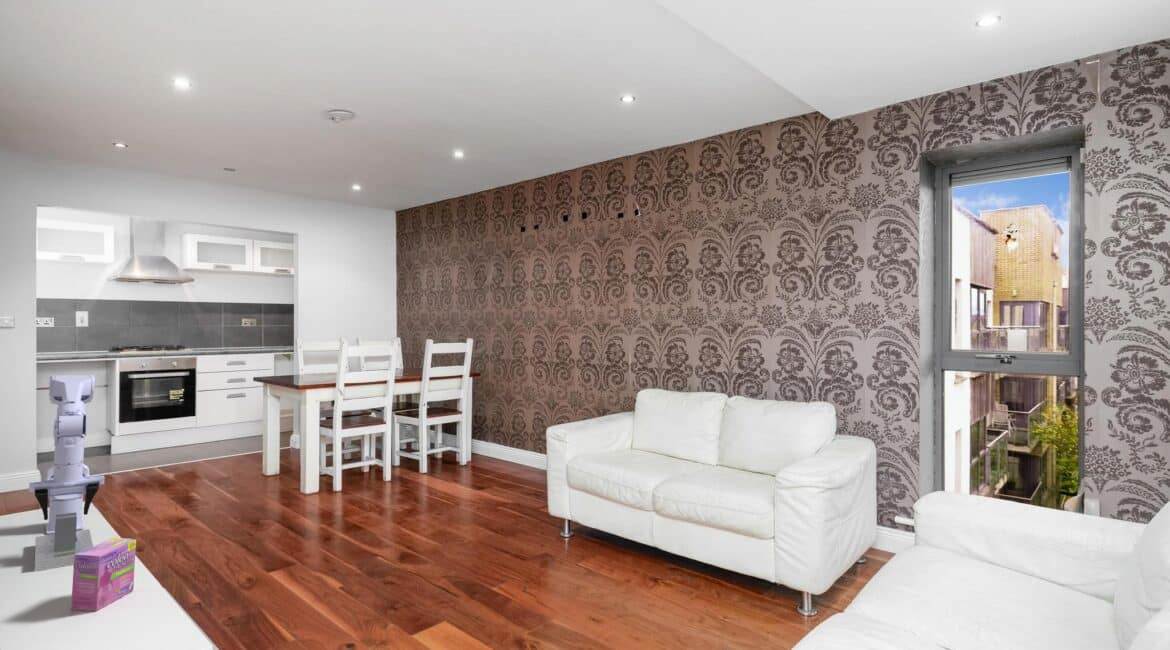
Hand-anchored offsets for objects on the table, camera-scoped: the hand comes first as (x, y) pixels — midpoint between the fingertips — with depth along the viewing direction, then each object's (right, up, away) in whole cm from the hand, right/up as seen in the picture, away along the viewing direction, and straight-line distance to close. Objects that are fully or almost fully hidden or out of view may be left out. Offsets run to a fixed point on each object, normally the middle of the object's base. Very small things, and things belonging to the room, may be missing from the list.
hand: (66, 516), depth 155 cm
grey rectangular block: (0, -8, -1) cm, 8 cm away
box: (+27, -12, -22) cm, 37 cm away
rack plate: (-2, -10, +2) cm, 11 cm away
